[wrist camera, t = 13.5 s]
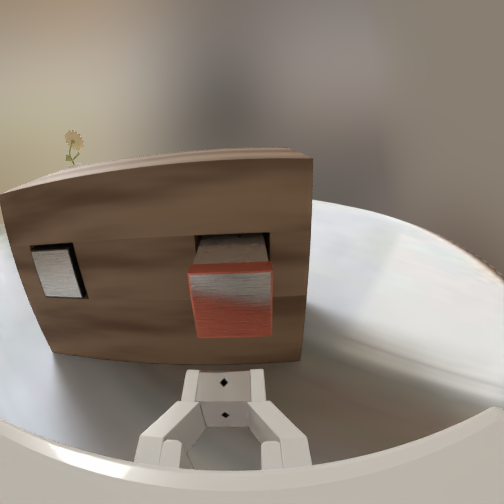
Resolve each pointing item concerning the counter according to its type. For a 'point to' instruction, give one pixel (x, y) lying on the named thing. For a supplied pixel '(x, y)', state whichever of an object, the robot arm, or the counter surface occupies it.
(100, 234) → the button panel
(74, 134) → the flower in vase
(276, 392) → the counter surface
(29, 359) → the counter surface
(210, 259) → the plunger right
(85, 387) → the counter surface
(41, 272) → the plunger left
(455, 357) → the counter surface
